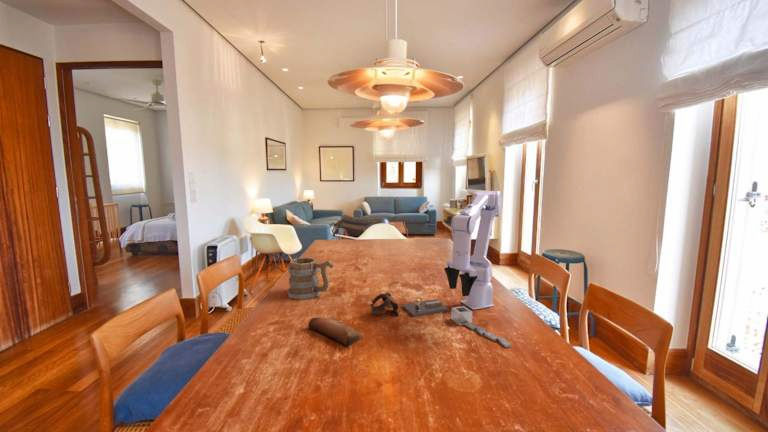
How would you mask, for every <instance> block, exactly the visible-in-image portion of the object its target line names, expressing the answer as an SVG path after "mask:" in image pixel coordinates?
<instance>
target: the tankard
mask: <svg viewBox="0 0 768 432" xmlns="http://www.w3.org/2000/svg"><path fill="white" fill-rule="evenodd" d="M334 266H335V264H334V263H333V262H331V261H330V260H327V261H325V262H322V263H319V262H318V261H317V260H316V258H313V257H296V258H292V259H290V261H289V266H288V271H287V272H288V274H289V277H288V285H289V287H290V288H288V289H286V292H287V296H288V298H289V299H294V300H299V301H301V300H309V299H314V298H316V297H317V296H319V295H320V294H321V293H323V292H324V293H326V292H327V290H328V288H329V287H330V279H329V276H328V273H327V267H329V268H330V269H332V268H333V267H334ZM319 269H320V275H321V277H322V281H323V285H322V286H321V285H319V283H320V282H319V281H320V280H319V277H318V273H319Z"/></svg>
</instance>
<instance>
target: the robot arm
mask: <svg viewBox="0 0 768 432" xmlns="http://www.w3.org/2000/svg"><path fill="white" fill-rule="evenodd" d="M471 198H472V199H471V201H472V202H471V203H468V204H466V206H465V207H464V208H463V210H461V212H460V213H459V214H456V215H455V216H453V217H451V222H450V229H451V237H452V253H451V254H452V255H451V259H446V262H445V265H446V267H443V270H444V272H445V274H446V278H447V281H448V286H449V287H448V288H449V289H450V290H455V289H457V285H458V280H459V279H460V282H461V295H462V297H465V299H462V300H461V301H460V302H461V303H462V304H463V305H464V306H467V308H470V310H479V309H486V308H492V307H494V303H493V301H494V300H493V299H494V287H493V284H492V282H491V280H492V275H493V264H492V262H491V261H490V260H489V259H488V258H487V255H488V249H489V246H490V245H489V244H490V239H491V233H492V228H493V223H494V220H495V217H496V216H497V215H499V214H500V212H501V209H502V207H501V206H502V201H503V199H502V198H503V195H502V192H501V191H500V190H496V191H495V190H480V189H479V190H478V189H475V190H474V191H473V193H472V197H471ZM478 219H479V225H478V229H477V235H476V239H475V245H474V250H473V254H472V255H471V245H472V234H473V233H474V231H475V226H476V223H477V220H478ZM460 272H461V273H460ZM458 278H459V279H458Z"/></svg>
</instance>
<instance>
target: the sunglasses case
mask: <svg viewBox="0 0 768 432" xmlns="http://www.w3.org/2000/svg"><path fill="white" fill-rule="evenodd" d="M308 328H309V329H311V330H313V331H316V332H319V333H322V334H323V335H325V336H327V337H329V338H332V339H333V340H335V341H337V342H339V343H342V344H343V345H345V346H347V347H350V346H352V345H354V344H355V343H357V342H359V341H360V340H362V339H364V338H365V336H364V335H363V334H362V333H361V332H359V331H357V330H356V329H354V328H352V327H350V326H348V325H346V323H344V322H342V321H340V320H337V319H331V318H328V317H326V318H325V317H312V318H311V319H310V320H309V322H308Z"/></svg>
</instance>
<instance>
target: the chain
mask: <svg viewBox="0 0 768 432" xmlns="http://www.w3.org/2000/svg"><path fill="white" fill-rule="evenodd" d="M464 326H465V327H467V328H469V329H471V330H472V331H475V332H477V333H478V334H479V335H480V336H483V337H485V338H487V339H489V340H490V341H493V342H498V344H500V345H501V346H503V347H504V348H511V347H512V343H511V342H510V341H508V340H507V339H505V338H504V337H500V336H497V335H495V334H494V333H492V332H490V331H486V329H484V328H483V327H482V326H478V325H476V324H474V323H473V322H472V323H471V322H467V323H465V324H464Z"/></svg>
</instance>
